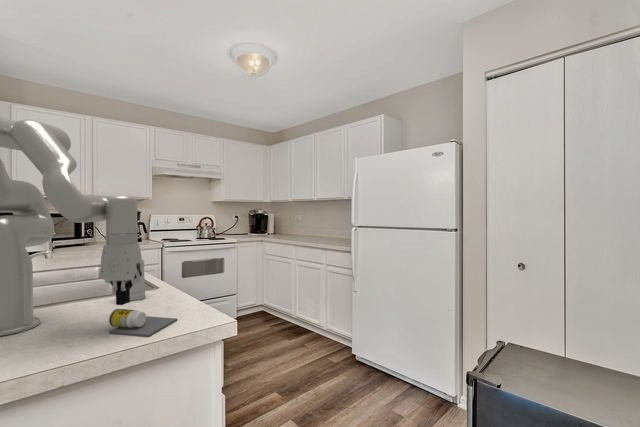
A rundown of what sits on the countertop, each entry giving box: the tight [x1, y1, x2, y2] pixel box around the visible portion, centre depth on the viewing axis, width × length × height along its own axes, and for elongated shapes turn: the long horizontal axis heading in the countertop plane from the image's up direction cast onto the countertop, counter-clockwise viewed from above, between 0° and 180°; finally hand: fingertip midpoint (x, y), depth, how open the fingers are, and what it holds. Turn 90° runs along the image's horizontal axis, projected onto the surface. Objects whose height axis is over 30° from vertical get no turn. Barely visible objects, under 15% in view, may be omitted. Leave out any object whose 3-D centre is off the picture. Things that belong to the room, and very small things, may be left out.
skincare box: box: [130, 258, 146, 302], centre depth 114 cm, size 8×6×15 cm
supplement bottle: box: [108, 308, 147, 328], centre depth 87 cm, size 5×5×8 cm
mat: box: [108, 315, 178, 338], centre depth 88 cm, size 12×12×1 cm
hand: (123, 303), depth 88 cm, fingers closed
